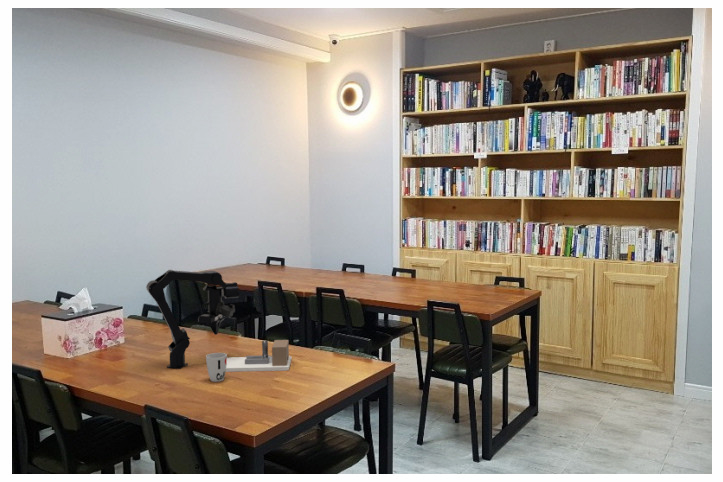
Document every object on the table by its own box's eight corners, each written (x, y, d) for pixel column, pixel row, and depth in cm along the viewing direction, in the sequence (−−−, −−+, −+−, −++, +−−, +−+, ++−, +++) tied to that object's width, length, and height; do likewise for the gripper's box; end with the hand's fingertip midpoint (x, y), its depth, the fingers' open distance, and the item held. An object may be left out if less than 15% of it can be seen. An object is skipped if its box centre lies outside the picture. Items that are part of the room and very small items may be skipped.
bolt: (261, 362, 261) (261, 342, 260) (262, 360, 264) (261, 340, 263) (284, 362, 262) (284, 341, 261) (285, 360, 265) (285, 339, 264)
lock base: (216, 371, 254) (216, 349, 253) (223, 360, 270) (223, 339, 269) (288, 370, 255) (288, 348, 254) (291, 359, 271) (291, 338, 270)
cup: (217, 384, 238) (217, 359, 237) (202, 381, 242) (201, 356, 241) (231, 378, 245) (231, 354, 244) (216, 375, 249) (215, 351, 248)
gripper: (219, 304, 256) (221, 340, 257) (241, 296, 274) (242, 330, 275) (196, 303, 259) (198, 339, 261) (219, 295, 277) (220, 329, 279)
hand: (215, 334), depth 269 cm, fingers closed
